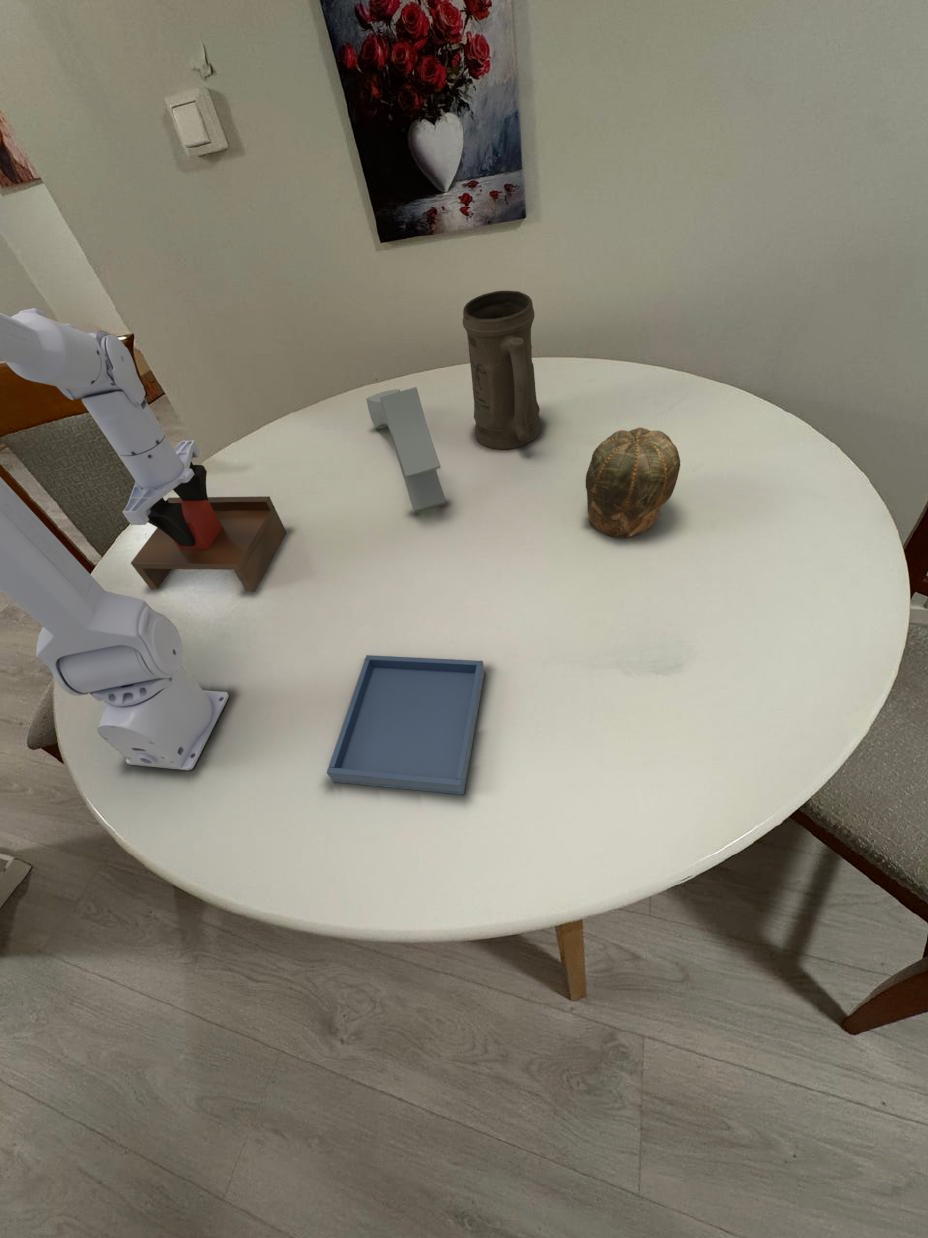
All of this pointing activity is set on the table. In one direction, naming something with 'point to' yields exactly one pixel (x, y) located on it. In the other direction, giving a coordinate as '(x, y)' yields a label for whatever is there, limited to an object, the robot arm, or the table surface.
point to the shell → (630, 481)
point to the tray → (410, 724)
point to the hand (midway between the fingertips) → (196, 531)
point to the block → (200, 523)
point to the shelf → (220, 543)
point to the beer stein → (502, 368)
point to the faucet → (410, 444)
